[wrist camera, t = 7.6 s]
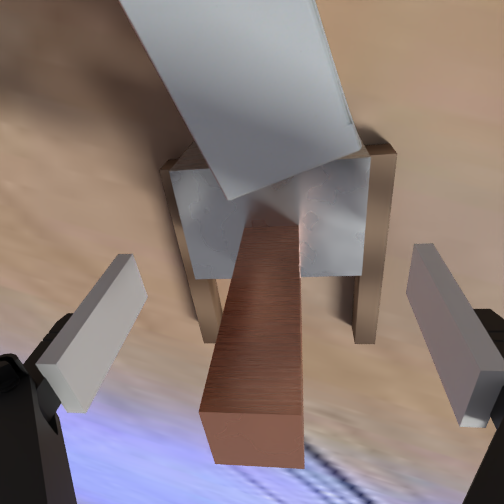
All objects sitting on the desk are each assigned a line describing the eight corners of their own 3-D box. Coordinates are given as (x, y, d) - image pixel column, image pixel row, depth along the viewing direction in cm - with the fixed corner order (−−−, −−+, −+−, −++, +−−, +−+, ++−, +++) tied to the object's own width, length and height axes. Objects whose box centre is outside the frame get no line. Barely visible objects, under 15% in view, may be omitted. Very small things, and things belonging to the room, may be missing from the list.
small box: (189, -3, 19) (100, -22, 10) (285, -63, 17) (276, -146, 9) (251, 134, 23) (224, 206, 14) (336, 97, 21) (365, 152, 12)
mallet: (196, 138, 23) (39, 326, 9) (353, 125, 22) (462, 325, 8) (213, 231, 27) (123, 465, 13) (348, 225, 25) (415, 483, 11)
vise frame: (109, -85, 18) (-29, -162, 10) (419, -142, 15) (535, -294, 8) (208, 326, 33) (183, 417, 25) (370, 326, 31) (394, 424, 23)
